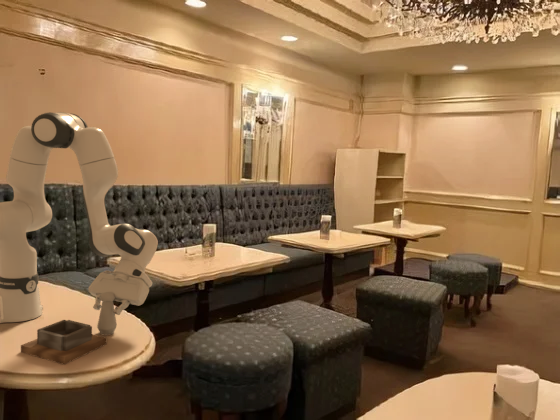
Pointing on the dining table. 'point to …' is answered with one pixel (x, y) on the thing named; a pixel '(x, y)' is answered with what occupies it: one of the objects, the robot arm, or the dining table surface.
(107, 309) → the beige round peg
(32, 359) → the dining table surface
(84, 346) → the walnut socket board
